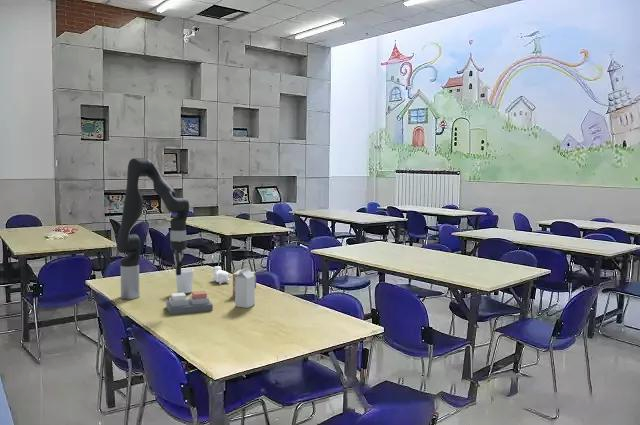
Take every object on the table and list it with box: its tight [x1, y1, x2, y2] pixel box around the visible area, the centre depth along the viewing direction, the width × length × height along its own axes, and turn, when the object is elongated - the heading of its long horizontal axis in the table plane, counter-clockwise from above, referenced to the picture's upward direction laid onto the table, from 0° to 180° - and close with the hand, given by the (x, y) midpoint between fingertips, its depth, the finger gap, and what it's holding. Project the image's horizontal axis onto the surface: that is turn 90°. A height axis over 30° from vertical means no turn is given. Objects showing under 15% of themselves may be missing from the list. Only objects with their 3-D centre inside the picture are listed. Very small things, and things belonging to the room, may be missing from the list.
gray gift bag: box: [232, 268, 257, 297], centre depth 292 cm, size 21×6×12 cm, turn 169°
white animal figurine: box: [211, 265, 230, 285], centre depth 314 cm, size 9×8×15 cm
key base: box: [165, 295, 214, 316], centre depth 256 cm, size 20×14×6 cm
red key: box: [191, 290, 208, 299], centre depth 258 cm, size 6×6×3 cm
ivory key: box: [170, 292, 187, 301], centre depth 254 cm, size 6×6×3 cm
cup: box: [174, 267, 195, 295], centre depth 286 cm, size 10×10×13 cm
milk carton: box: [234, 267, 256, 309], centre depth 262 cm, size 7×7×19 cm
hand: (178, 274), depth 253 cm, fingers closed
